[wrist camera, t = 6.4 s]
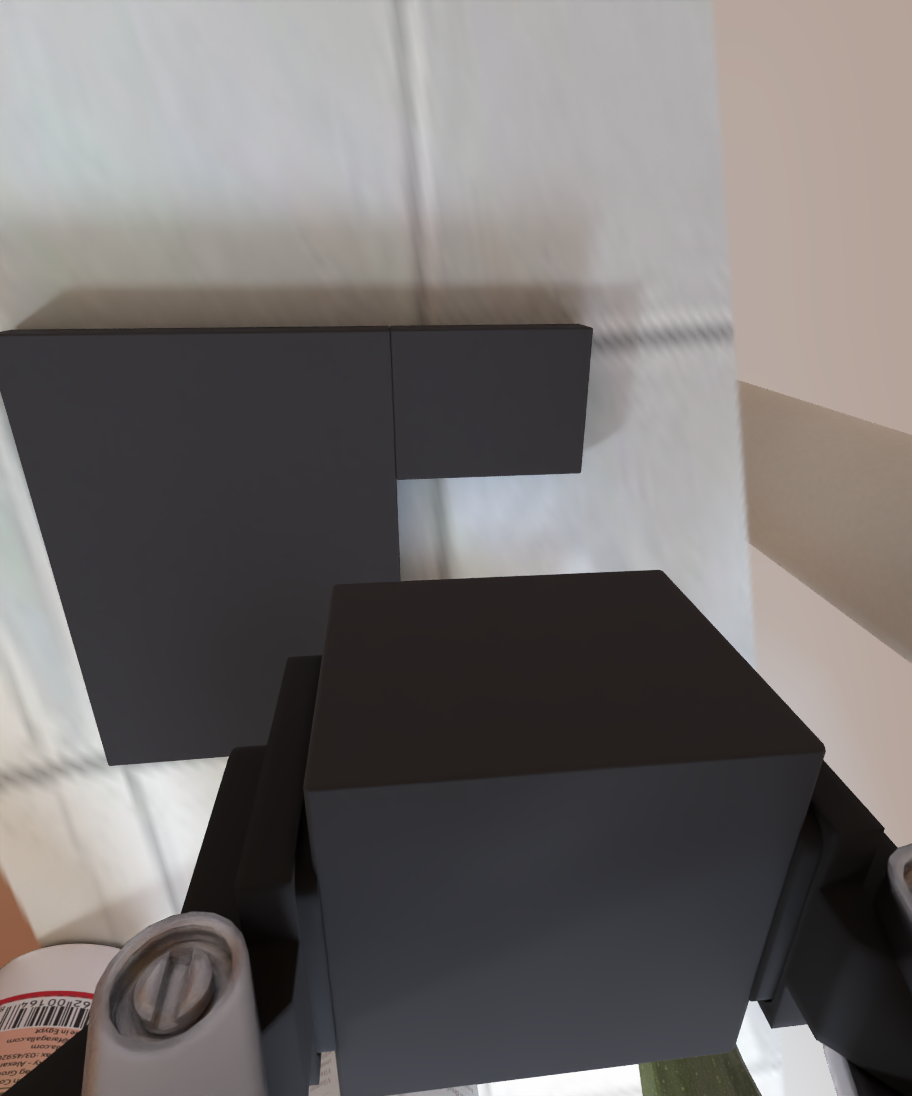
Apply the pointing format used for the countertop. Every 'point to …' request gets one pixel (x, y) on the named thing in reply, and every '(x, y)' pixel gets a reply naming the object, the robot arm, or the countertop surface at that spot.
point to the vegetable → (698, 1076)
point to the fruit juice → (45, 1003)
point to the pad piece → (542, 827)
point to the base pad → (254, 491)
